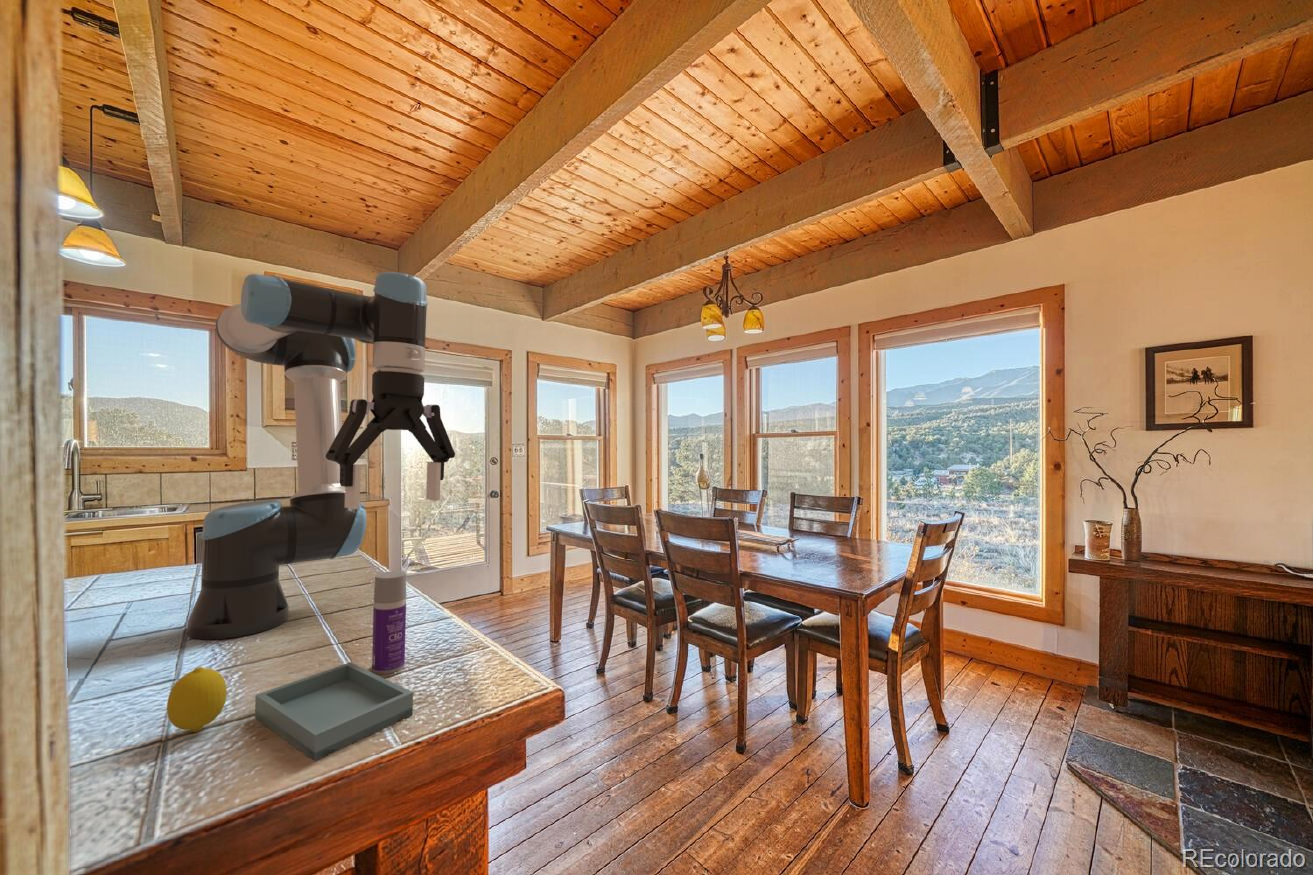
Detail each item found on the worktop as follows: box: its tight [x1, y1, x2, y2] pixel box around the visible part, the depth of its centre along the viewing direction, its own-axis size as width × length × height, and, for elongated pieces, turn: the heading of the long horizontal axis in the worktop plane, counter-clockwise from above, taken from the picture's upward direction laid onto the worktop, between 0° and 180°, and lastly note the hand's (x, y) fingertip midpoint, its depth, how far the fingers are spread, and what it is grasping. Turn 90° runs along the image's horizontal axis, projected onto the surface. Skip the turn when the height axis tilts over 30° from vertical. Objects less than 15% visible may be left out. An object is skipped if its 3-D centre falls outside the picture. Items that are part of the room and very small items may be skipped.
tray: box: [254, 662, 414, 762], centre depth 68 cm, size 16×12×3 cm
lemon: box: [166, 666, 228, 733], centre depth 64 cm, size 6×6×8 cm
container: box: [371, 570, 407, 675], centre depth 82 cm, size 5×5×15 cm
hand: (395, 503), depth 83 cm, fingers open, 13 cm apart
